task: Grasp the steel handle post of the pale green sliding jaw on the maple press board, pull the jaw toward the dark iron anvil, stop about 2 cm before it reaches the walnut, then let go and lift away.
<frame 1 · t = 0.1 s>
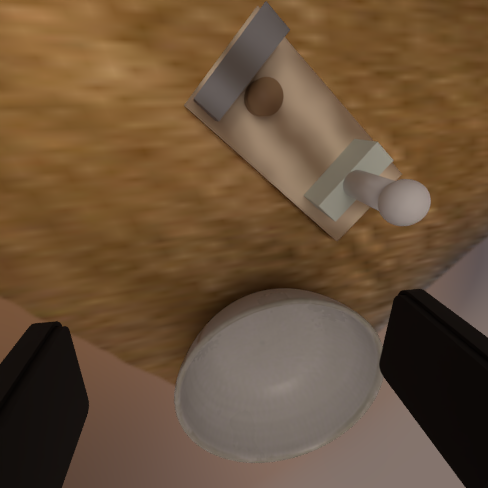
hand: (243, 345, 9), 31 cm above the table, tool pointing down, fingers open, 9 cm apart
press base: (298, 141, 38), on the table
walnut: (260, 98, 33), point 2 cm above the table, touching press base
decorative bowl: (263, 329, 48), on the table
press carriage: (368, 188, 31), point 10 cm above the table, slide at 0.0 cm
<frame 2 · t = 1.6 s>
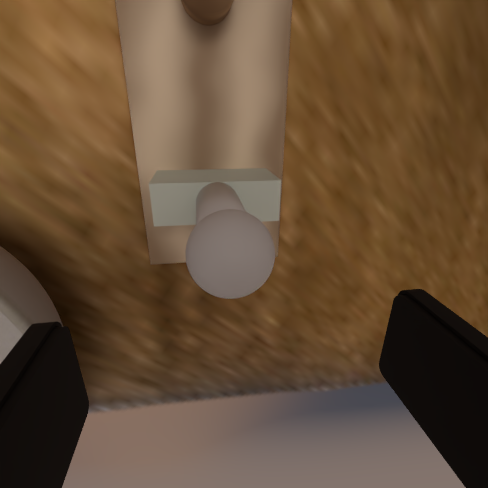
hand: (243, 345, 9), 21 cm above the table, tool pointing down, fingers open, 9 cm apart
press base: (209, 110, 25), on the table
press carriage: (220, 215, 19), point 10 cm above the table, slide at 0.0 cm
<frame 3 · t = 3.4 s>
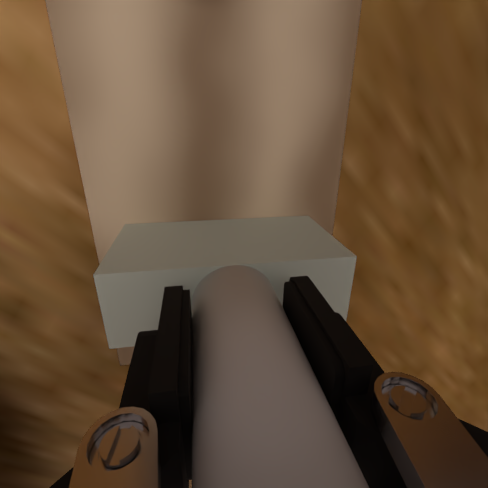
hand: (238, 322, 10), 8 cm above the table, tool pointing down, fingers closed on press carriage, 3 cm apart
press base: (214, 120, 15), on the table
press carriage: (246, 354, 8), point 10 cm above the table, slide at 0.0 cm, touching gripper
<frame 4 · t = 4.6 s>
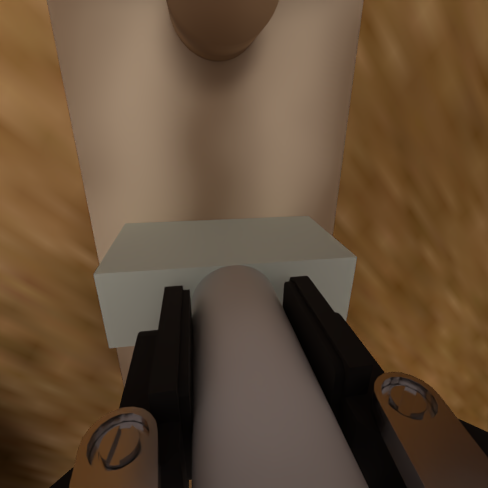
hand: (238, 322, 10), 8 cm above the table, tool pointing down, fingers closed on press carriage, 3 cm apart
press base: (217, 184, 16), on the table
walnut: (215, 7, 12), point 2 cm above the table, touching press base
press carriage: (246, 354, 8), point 10 cm above the table, slide at 3.2 cm, touching gripper
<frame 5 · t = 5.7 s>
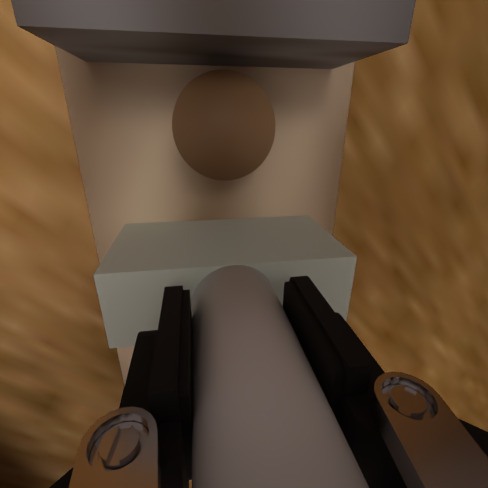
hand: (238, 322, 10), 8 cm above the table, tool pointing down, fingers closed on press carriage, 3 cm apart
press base: (219, 255, 18), on the table
walnut: (218, 126, 13), point 2 cm above the table, touching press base
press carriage: (246, 354, 8), point 10 cm above the table, slide at 7.4 cm, touching gripper
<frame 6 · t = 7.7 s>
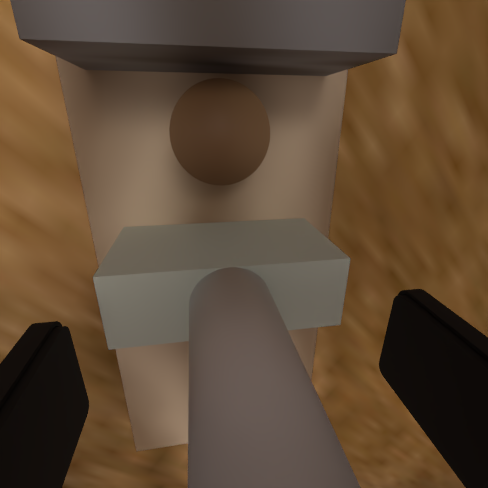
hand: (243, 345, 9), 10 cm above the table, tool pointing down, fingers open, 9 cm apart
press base: (216, 258, 18), on the table
walnut: (214, 131, 13), point 2 cm above the table, touching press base
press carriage: (241, 354, 9), point 10 cm above the table, slide at 7.5 cm
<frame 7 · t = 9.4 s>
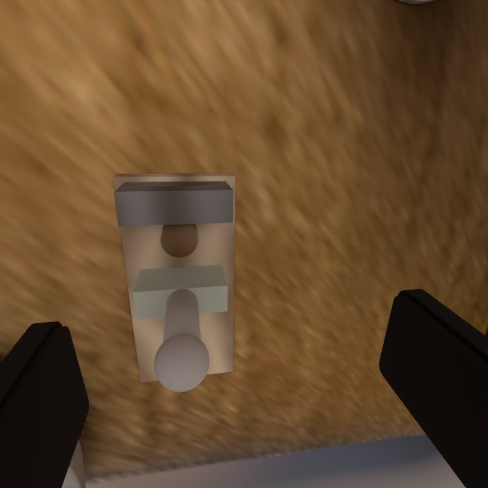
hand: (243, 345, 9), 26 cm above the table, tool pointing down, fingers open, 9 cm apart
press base: (183, 281, 37), on the table
walnut: (179, 231, 32), point 2 cm above the table, touching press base
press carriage: (182, 317, 27), point 10 cm above the table, slide at 7.5 cm
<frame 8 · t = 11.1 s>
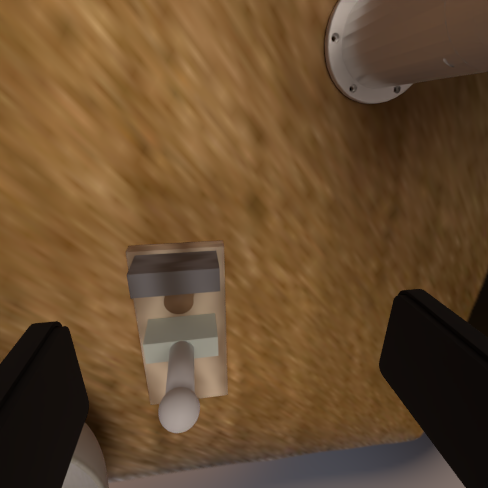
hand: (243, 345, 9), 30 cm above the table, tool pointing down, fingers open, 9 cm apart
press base: (184, 324, 44), on the table
walnut: (179, 289, 40), point 2 cm above the table, touching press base
decorative bowl: (36, 421, 47), on the table
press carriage: (181, 366, 35), point 10 cm above the table, slide at 7.5 cm
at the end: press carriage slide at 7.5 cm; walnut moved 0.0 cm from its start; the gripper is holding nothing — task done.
